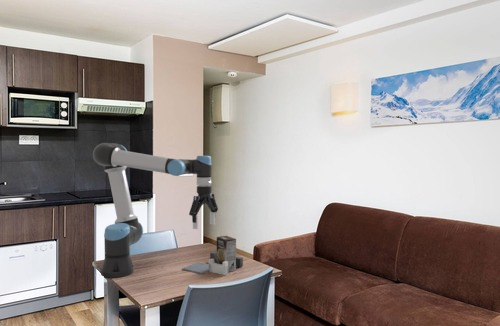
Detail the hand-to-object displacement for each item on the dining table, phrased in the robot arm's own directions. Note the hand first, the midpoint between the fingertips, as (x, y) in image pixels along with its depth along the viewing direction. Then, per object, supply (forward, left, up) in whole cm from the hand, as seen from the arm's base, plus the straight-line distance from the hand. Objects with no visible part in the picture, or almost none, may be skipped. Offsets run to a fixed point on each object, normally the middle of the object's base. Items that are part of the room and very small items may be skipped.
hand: (204, 226), depth 193 cm
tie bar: (+7, +10, -21) cm, 24 cm away
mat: (0, -3, -21) cm, 21 cm away
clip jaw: (+12, -4, -21) cm, 24 cm away
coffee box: (+12, +3, -21) cm, 24 cm away
